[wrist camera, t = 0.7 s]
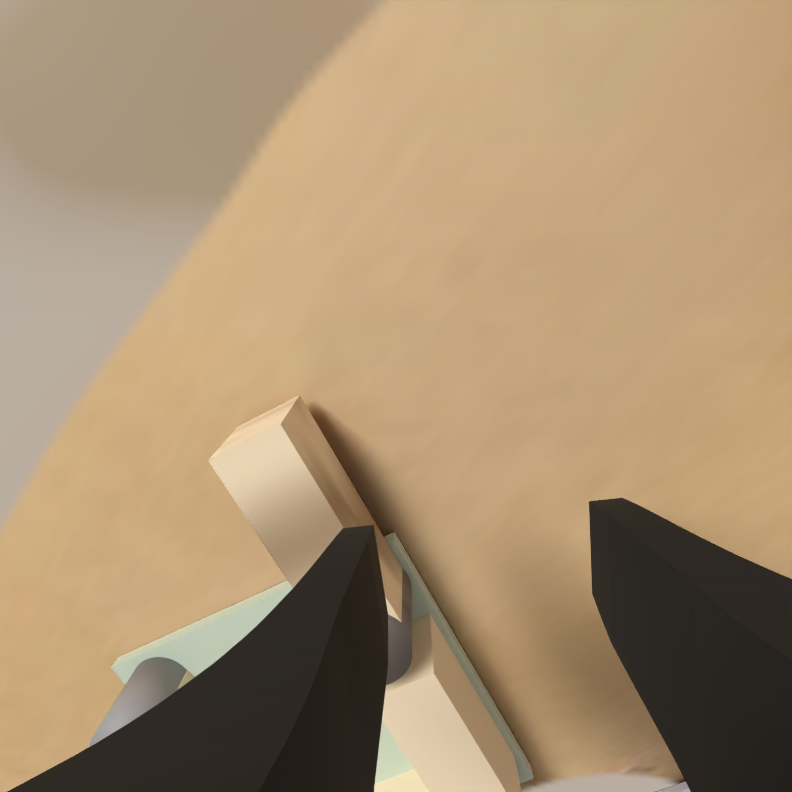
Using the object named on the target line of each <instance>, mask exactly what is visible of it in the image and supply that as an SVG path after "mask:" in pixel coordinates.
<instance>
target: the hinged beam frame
mask: <svg viewBox="0 0 792 792" xmlns="http://www.w3.org/2000/svg"><path fill="white" fill-rule="evenodd" d="M384 538H385V540H386V542H387V543H388V545H389V547H390V548H391V550H392V552H393V553H394V555H395V557H396V559H397V560H398V562H399V564H400V565H401V567H402V569H403V570H404V571H405V572H406V573H407V575H408V576H409V579H410V581H411V588H412V661H411V665H410V667H409V669H408V670H407V672H406V673H405V674H404V675H403V676H402V677H401V678H400V679H398V680H396V681H395V682H393V683H391V684H388V685H386V689H385V698H384V707H383V716H382V724H381V733H380V742H379V750H378V759H377V768H376V777H375V785H374V792H522V791H521V786H520V783H523V782H526V781H529V780H531V779H534V776H533V772H532V768H531V765H530V763H529V761H528V760H527V758H526V756H525V754H524V753H523V751H522V749H521V748H520V746H519V744H518V742H517V741H516V739H515V737H514V736H513V734H512V732H511V730H510V729H509V727H508V725H507V724H506V722H505V720H504V719H503V717H502V715H501V713H500V712H499V710H498V708H497V707H496V705H495V703H494V701H493V700H492V698H491V696H490V695H489V693H488V691H487V689H486V688H485V686H484V684H483V683H482V681H481V679H480V677H479V676H478V674H477V672H476V671H475V669H474V667H473V665H472V664H471V662H470V660H469V659H468V657H467V655H466V653H465V652H464V650H463V648H462V647H461V645H460V643H459V641H458V640H457V638H456V636H455V635H454V633H453V631H452V629H451V628H450V626H449V624H448V623H447V621H446V619H445V617H444V616H443V614H442V612H441V611H440V609H439V607H438V605H437V604H436V602H435V600H434V599H433V597H432V595H431V593H430V592H429V590H428V588H427V587H426V585H425V583H424V581H423V580H422V578H421V576H420V575H419V573H418V571H417V569H416V568H415V566H414V564H413V563H412V561H411V559H410V557H409V556H408V554H407V552H406V551H405V549H404V547H403V545H402V544H401V542H400V540H399V539H398V537H397V535H396V534H395V532H393V533H391V534H389V535H386V536H384ZM292 589H293V588H292V586H291V585H290V583H289V582H288V580H287V581H285V582H283V583H281V584H278V585H276V586H274V587H272V588H270V589H267V590H265V591H263V592H261V593H258V594H256V595H254V596H252V597H250V598H247V599H245V600H243V601H241V602H239V603H236V604H234V605H232V606H230V607H228V608H225V609H223V610H221V611H219V612H217V613H214V614H212V615H210V616H208V617H206V618H203V619H201V620H199V621H197V622H194V623H192V624H190V625H188V626H186V627H183V628H181V629H179V630H177V631H175V632H172V633H170V634H168V635H166V636H164V637H161V638H159V639H157V640H155V641H153V642H150V643H148V644H146V645H144V646H141V647H139V648H137V649H135V650H133V651H130V652H128V653H126V654H124V655H122V656H119V657H118V659H117V660H116V662H115V663H114V665H113V666H112V667H111V668H112V669H113V670H114V672H115V673H116V674H117V675H118V677H119V678H120V679H121V680H122V682H123V683H124V684H125V686H124V688H123V689H122V691H121V693H120V694H119V696H118V697H117V699H116V701H115V702H114V704H113V705H112V707H111V709H110V710H109V712H108V713H107V715H106V717H105V718H104V720H103V721H102V723H101V725H100V726H99V728H98V729H97V731H96V733H95V734H94V736H93V738H92V740H91V742H90V746H92V745H94V744H96V743H97V742H99V741H100V740H102V739H104V738H105V737H107V736H109V735H110V734H112V733H114V732H115V731H117V730H118V729H120V728H122V727H123V726H125V725H127V724H128V723H130V722H131V721H133V720H134V719H136V718H137V717H139V716H141V715H142V714H144V713H145V712H147V711H148V710H150V709H151V708H153V707H154V706H156V705H157V704H159V703H160V702H162V701H163V700H165V699H166V698H167V697H169V696H170V695H171V694H173V693H174V692H175V691H177V690H178V689H179V688H181V687H182V686H183V685H185V684H186V683H188V682H189V681H190V680H192V679H193V678H194V677H196V676H197V675H198V674H200V673H201V672H202V671H204V670H205V669H206V668H208V667H209V666H211V665H212V664H213V663H214V662H216V661H217V660H218V659H219V658H221V657H222V656H223V655H224V654H225V653H226V652H228V651H229V650H230V649H231V648H232V647H233V646H235V645H236V644H237V643H238V642H239V641H240V640H242V639H243V638H244V637H245V636H246V635H247V634H248V633H249V632H250V631H252V630H253V629H254V628H255V627H256V626H257V625H258V624H259V623H260V622H261V621H262V620H263V619H264V618H265V617H266V616H267V615H268V614H269V613H270V612H271V611H272V610H273V609H274V608H275V607H276V606H277V605H278V603H279V602H280V601H281V600H282V599H283V598H284V597H285V596H286V595H287V594H288V593H289V592H290V591H291V590H292Z"/></svg>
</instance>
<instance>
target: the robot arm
mask: <svg viewBox="0 0 792 792" xmlns="http://www.w3.org/2000/svg"><path fill="white" fill-rule="evenodd" d="M589 512H590V540H591V568H592V594H593V597H594V599H595V602H596V605H597V607H598V610H599V613H600V615H601V618H602V621H603V623H604V626H605V628H606V631H607V633H608V636H609V638H610V641H611V643H612V645H613V647H614V649H615V651H616V652H617V654H618V656H619V658H620V660H621V662H622V664H623V666H624V667H625V669H626V671H627V673H628V675H629V677H630V679H631V680H632V682H633V684H634V686H635V688H636V690H637V691H638V693H639V695H640V697H641V699H642V701H643V702H644V704H645V706H646V708H647V710H648V712H649V713H650V715H651V717H652V719H653V721H654V723H655V724H656V726H657V728H658V730H659V732H660V734H661V735H662V737H663V739H664V741H665V743H666V745H667V746H668V748H669V750H670V752H671V754H672V756H673V757H674V759H675V761H676V763H677V765H678V767H679V769H680V771H681V773H682V775H683V777H684V779H685V782H682V783H679V784H676V785H673V786H671V787H668V788H665V789H662V790H659V791H656V792H792V579H790V578H788V577H785V576H783V575H780V574H778V573H776V572H773V571H771V570H769V569H767V568H764V567H762V566H760V565H758V564H755V563H753V562H751V561H749V560H747V559H744V558H742V557H740V556H738V555H736V554H733V553H731V552H729V551H727V550H725V549H723V548H721V547H719V546H717V545H715V544H713V543H711V542H709V541H707V540H705V539H703V538H701V537H699V536H697V535H695V534H693V533H691V532H689V531H687V530H685V529H683V528H681V527H679V526H677V525H675V524H674V523H672V522H670V521H668V520H666V519H664V518H662V517H660V516H658V515H656V514H654V513H653V512H651V511H649V510H647V509H645V508H643V507H641V506H639V505H637V504H635V503H633V502H630V501H628V500H626V499H623V498H617V499H608V500H598V501H589ZM387 671H388V611H387V604H386V598H385V592H384V586H383V580H382V573H381V567H380V561H379V555H378V548H377V542H376V536H375V530H374V525H368V526H358V527H349V528H343V529H342V530H341V531H340V532H339V533H338V535H337V536H336V537H335V538H334V539H333V540H332V542H331V543H330V544H329V545H328V547H327V548H326V549H325V550H324V552H323V553H322V554H321V555H320V557H319V558H318V559H317V560H316V562H315V563H314V564H313V565H312V567H311V568H310V569H309V570H308V571H307V572H306V574H305V575H304V576H303V577H302V578H301V579H300V581H299V582H298V583H297V584H296V585H295V586H294V588H293V589H292V590H291V591H290V592H289V593H288V594H287V595H286V596H285V597H284V598H283V599H282V600H281V601H280V602H279V603H278V605H277V606H276V607H275V608H274V609H273V610H272V611H271V612H270V613H269V614H268V615H267V616H266V617H265V618H264V619H263V620H262V621H261V622H260V623H259V624H258V625H257V626H256V627H255V628H254V629H253V630H252V631H250V632H249V633H248V634H247V635H246V636H245V637H244V638H243V639H242V640H240V641H239V642H238V643H237V644H236V645H235V646H233V647H232V648H231V649H230V650H229V651H228V652H226V653H225V654H224V655H223V656H222V657H221V658H219V659H218V660H217V661H216V662H214V663H213V664H212V665H211V666H209V667H208V668H206V669H205V670H204V671H202V672H201V673H200V674H198V675H197V676H196V677H194V678H193V679H192V680H190V681H189V682H188V683H186V684H185V685H183V686H182V687H181V688H179V689H178V690H177V691H175V692H174V693H173V694H171V695H170V696H169V697H167V698H166V699H165V700H163V701H162V702H160V703H159V704H157V705H156V706H154V707H153V708H151V709H150V710H148V711H147V712H145V713H144V714H142V715H141V716H139V717H137V718H136V719H134V720H133V721H131V722H130V723H128V724H127V725H125V726H123V727H122V728H120V729H118V730H117V731H115V732H114V733H112V734H110V735H109V736H107V737H105V738H104V739H102V740H100V741H99V742H97V743H96V744H94V745H92V746H90V747H89V748H87V749H85V750H83V751H82V752H80V753H78V754H77V755H75V756H73V757H71V758H69V759H67V760H66V761H64V762H62V763H60V764H58V765H56V766H54V767H53V768H51V769H49V770H47V771H45V772H43V773H41V774H39V775H38V776H36V777H34V778H32V779H30V780H28V781H26V782H25V783H23V784H21V785H19V786H17V787H15V788H13V789H11V790H10V791H8V792H374V785H375V777H376V768H377V759H378V750H379V742H380V733H381V724H382V716H383V707H384V698H385V689H386V680H387Z"/></svg>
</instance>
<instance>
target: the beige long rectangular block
mask: <svg viewBox="0 0 792 792" xmlns="http://www.w3.org/2000/svg"><path fill="white" fill-rule="evenodd" d="M208 461H209V463H210V464H211V466H212V467H213V469H214V470H215V472H216V473H217V475H218V476H219V478H220V479H221V481H222V482H223V484H224V485H225V487H226V488H227V490H228V491H229V493H230V494H231V496H232V497H233V499H234V500H235V502H236V503H237V505H238V506H239V508H240V509H241V511H242V512H243V514H244V515H245V517H246V518H247V520H248V521H249V523H250V524H251V526H252V528H253V529H254V531H255V532H256V534H257V535H258V537H259V538H260V540H261V541H262V543H263V544H264V546H265V547H266V549H267V550H268V552H269V553H270V555H271V556H272V558H273V559H274V561H275V562H276V564H277V565H278V567H279V568H280V570H281V571H282V573H283V574H284V576H285V577H286V579H287V580H288V582H289V583H290V585H291V586H292V588H294V586H295V585H296V584H297V583H298V582H299V581H300V579H301V578H302V577H303V576H304V575H305V574H306V572H307V571H308V570H309V569H310V568H311V567H312V565H313V564H314V563H315V562H316V560H317V559H318V558H319V557H320V555H321V554H322V553H323V552H324V550H325V549H326V548H327V547H328V545H329V544H330V543H331V542H332V540H333V539H334V538H335V537H336V536H337V535H338V533H339V532H340V531H341V530H342V529H343V528H349V527H358V526H368V525H374V530H375V536H376V542H377V548H378V555H379V561H380V567H381V573H382V580H383V586H384V592H385V598H386V604H387V611H388V671H387V680H386V685H388V684H391V683H393V682H395V681H396V680H398V679H400V678H401V677H402V676H403V675H404V674H405V673H406V672H407V670H408V669H409V667H410V665H411V661H412V588H411V581H410V579H409V576H408V575H407V573H406V572H405V571H404V570H403V569H402V567H401V565H400V564H399V562H398V560H397V559H396V557H395V555H394V553H393V552H392V550H391V548H390V547H389V545H388V543H387V542H386V540H385V538H384V537H383V535H382V533H381V531H380V530H379V528H378V526H377V525H376V523H375V521H374V520H373V518H372V516H371V515H370V513H369V511H368V509H367V508H366V506H365V504H364V503H363V501H362V499H361V498H360V496H359V494H358V493H357V491H356V489H355V487H354V486H353V484H352V482H351V481H350V479H349V477H348V476H347V474H346V472H345V471H344V469H343V467H342V466H341V464H340V462H339V460H338V459H337V457H336V455H335V454H334V452H333V450H332V449H331V447H330V445H329V444H328V442H327V440H326V438H325V437H324V435H323V433H322V432H321V430H320V428H319V427H318V425H317V423H316V422H315V420H314V418H313V416H312V415H311V413H310V411H309V410H308V408H307V406H306V405H305V403H304V401H303V400H302V398H301V396H300V395H299V396H297V397H295V398H293V399H291V400H289V401H287V402H285V403H283V404H281V405H279V406H277V407H275V408H273V409H271V410H269V411H267V412H265V413H263V414H261V415H260V416H258V417H256V418H254V419H252V420H250V421H248V422H246V423H244V424H242V425H240V426H238V427H237V428H236V429H235V431H234V432H233V433H232V434H231V435H230V436H229V437H228V439H227V440H226V441H225V442H224V443H223V444H222V445H221V446H220V448H219V449H218V450H217V451H216V452H215V453H214V454H213V456H212V457H211V458H210V459H209V460H208Z"/></svg>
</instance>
